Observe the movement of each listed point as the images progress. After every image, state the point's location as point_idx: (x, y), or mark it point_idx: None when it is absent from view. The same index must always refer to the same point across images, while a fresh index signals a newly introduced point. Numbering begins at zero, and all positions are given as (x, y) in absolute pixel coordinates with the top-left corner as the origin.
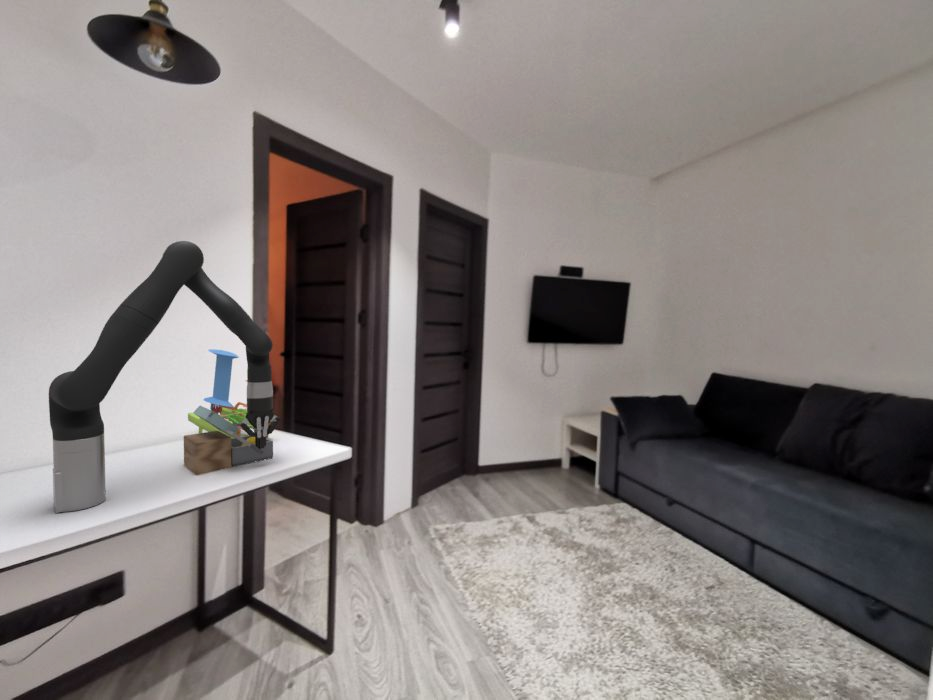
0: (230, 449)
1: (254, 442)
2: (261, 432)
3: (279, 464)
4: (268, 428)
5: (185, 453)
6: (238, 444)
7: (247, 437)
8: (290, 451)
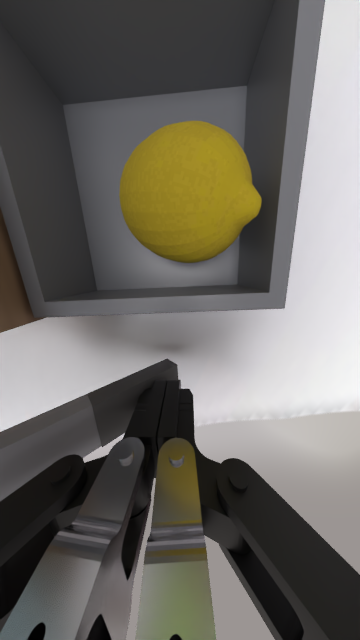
0: (26, 322)
1: (180, 251)
2: (167, 485)
3: (224, 375)
4: (255, 531)
5: None
6: (132, 32)
7: None
8: (348, 245)
